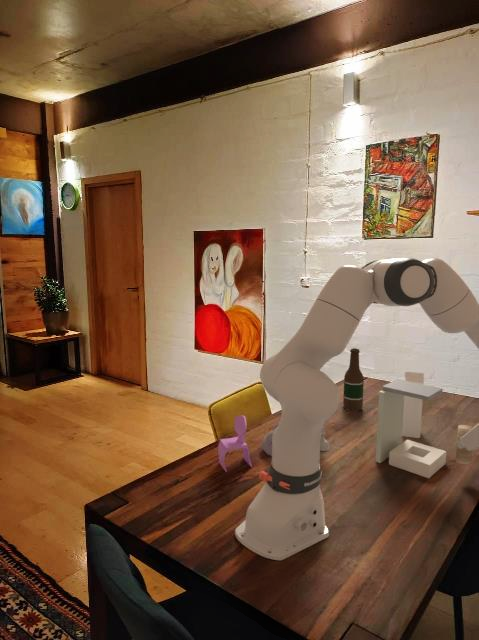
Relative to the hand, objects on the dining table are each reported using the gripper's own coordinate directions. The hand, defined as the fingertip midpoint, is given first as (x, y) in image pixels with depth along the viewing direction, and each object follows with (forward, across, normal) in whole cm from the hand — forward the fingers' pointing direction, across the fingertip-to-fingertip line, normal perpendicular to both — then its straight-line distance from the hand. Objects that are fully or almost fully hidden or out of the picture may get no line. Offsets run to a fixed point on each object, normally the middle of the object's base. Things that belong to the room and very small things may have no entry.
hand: (462, 442), depth 129 cm
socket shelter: (+17, 0, -2) cm, 18 cm away
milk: (+24, -20, -9) cm, 33 cm away
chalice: (+35, +10, -20) cm, 42 cm away
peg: (+3, 0, +4) cm, 5 cm away
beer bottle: (+44, -29, -28) cm, 60 cm away
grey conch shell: (+41, +21, -26) cm, 53 cm away
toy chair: (+44, +38, -28) cm, 65 cm away
